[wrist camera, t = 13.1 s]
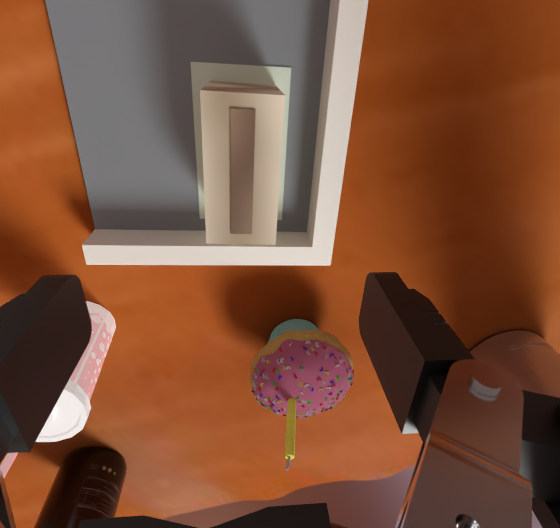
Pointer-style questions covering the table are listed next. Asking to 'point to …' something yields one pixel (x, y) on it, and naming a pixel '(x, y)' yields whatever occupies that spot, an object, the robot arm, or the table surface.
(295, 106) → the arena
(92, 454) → the supplement bottle
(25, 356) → the robot arm
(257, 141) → the birch block
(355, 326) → the table surface
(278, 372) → the cupcake
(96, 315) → the beverage cup
